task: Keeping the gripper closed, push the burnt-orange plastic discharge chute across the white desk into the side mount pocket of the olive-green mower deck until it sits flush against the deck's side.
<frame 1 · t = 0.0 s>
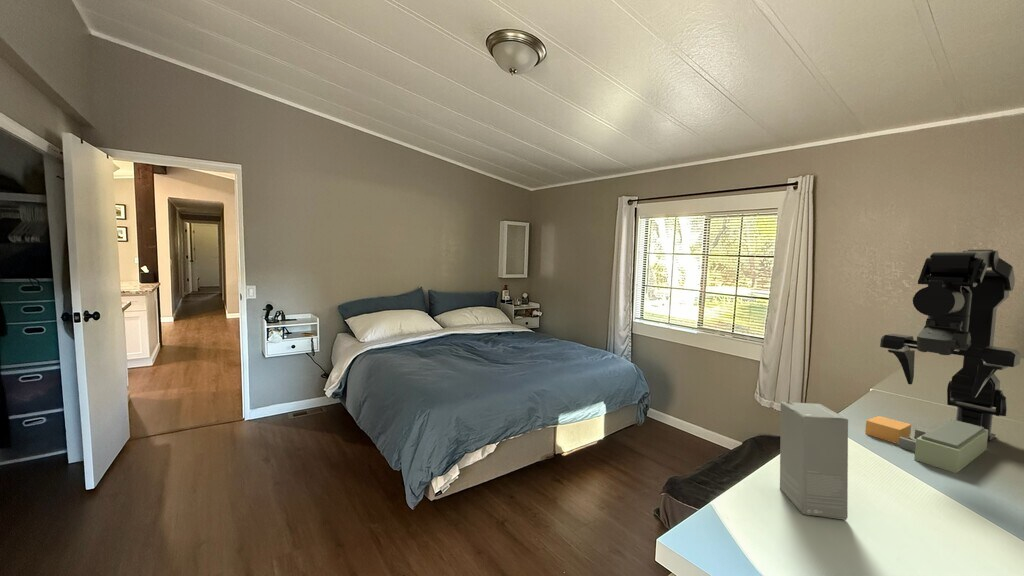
hand: (940, 390, 83), 15 cm above the table, fingers open, 9 cm apart
skincare box: (807, 504, 67), on the table
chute: (887, 436, 96), on the table
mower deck: (951, 454, 87), on the table
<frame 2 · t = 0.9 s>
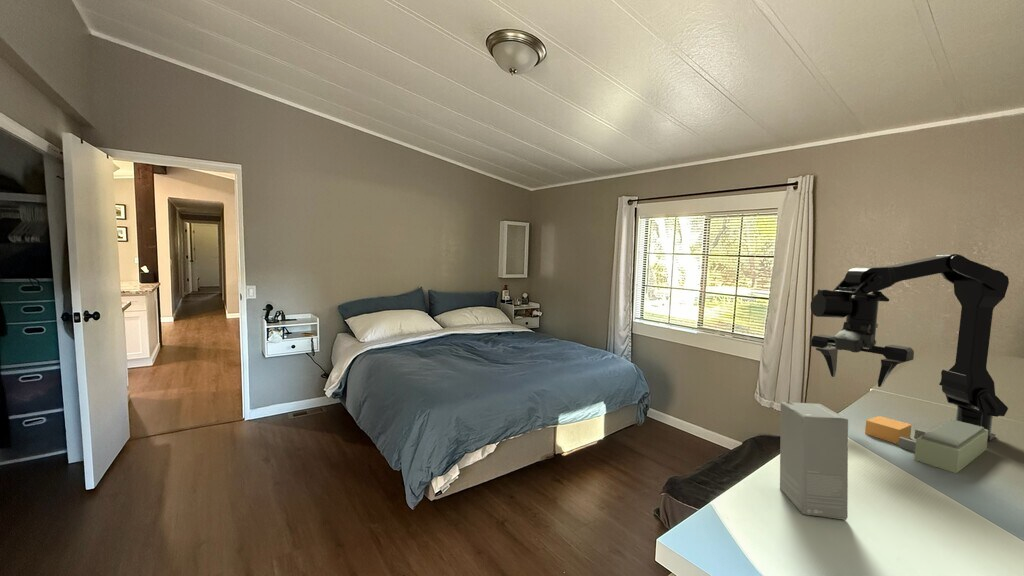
hand: (855, 381, 100), 11 cm above the table, fingers open, 9 cm apart
nothing on the table moved.
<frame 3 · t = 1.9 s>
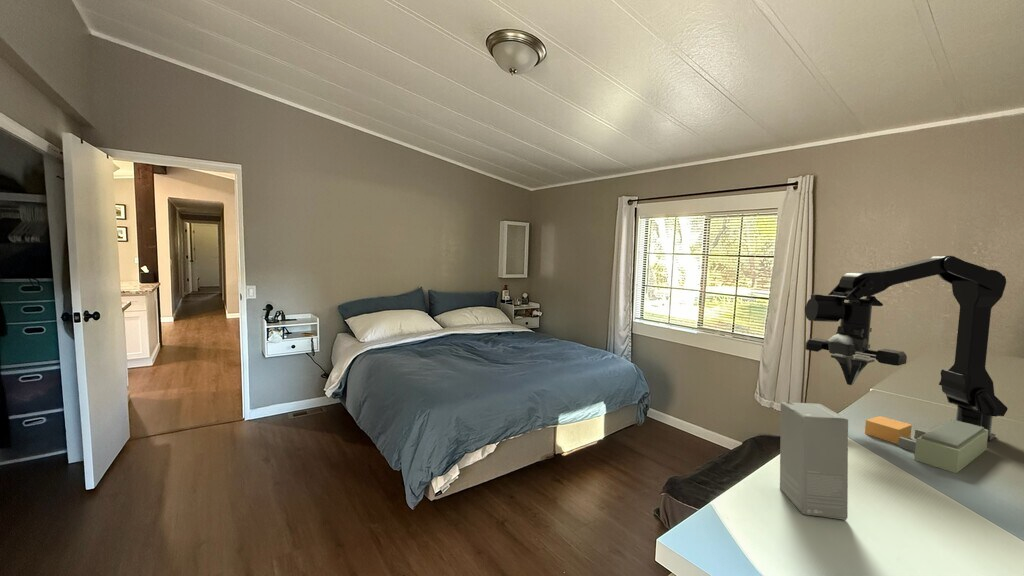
hand: (849, 384, 102), 10 cm above the table, fingers closed
nothing on the table moved.
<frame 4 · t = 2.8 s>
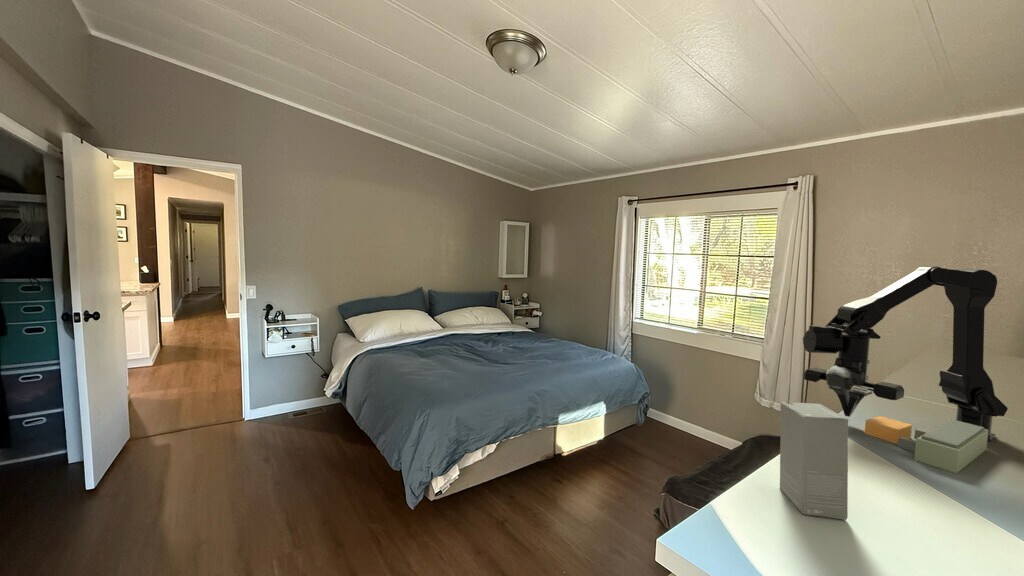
hand: (847, 416, 102), 2 cm above the table, fingers closed
nothing on the table moved.
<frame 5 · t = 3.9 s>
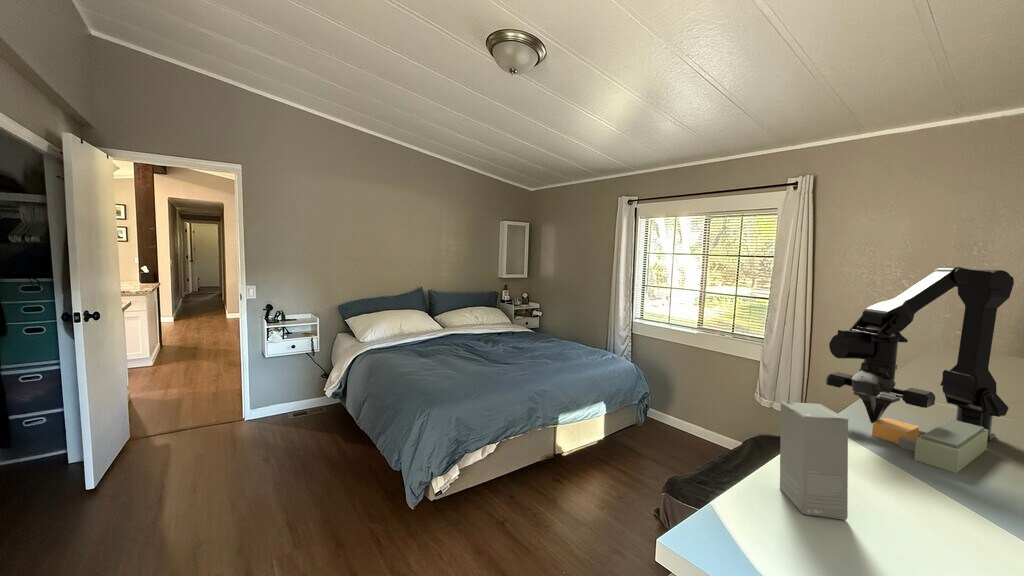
hand: (873, 423, 98), 2 cm above the table, fingers closed
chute: (894, 439, 95), on the table, touching gripper
everything else where it was.
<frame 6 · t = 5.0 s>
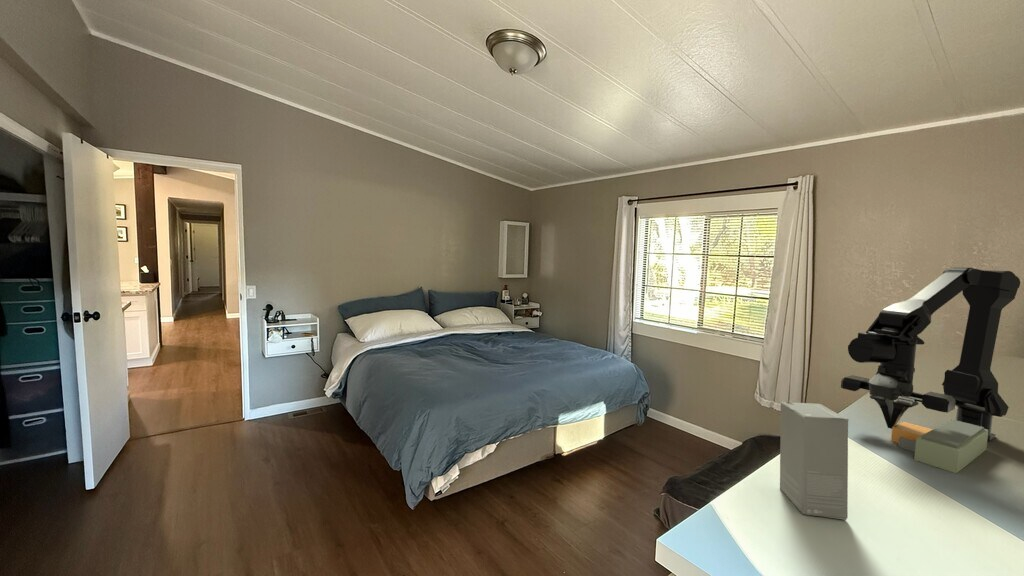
hand: (890, 428, 95), 2 cm above the table, fingers closed
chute: (913, 444, 92), on the table
everything else where it was.
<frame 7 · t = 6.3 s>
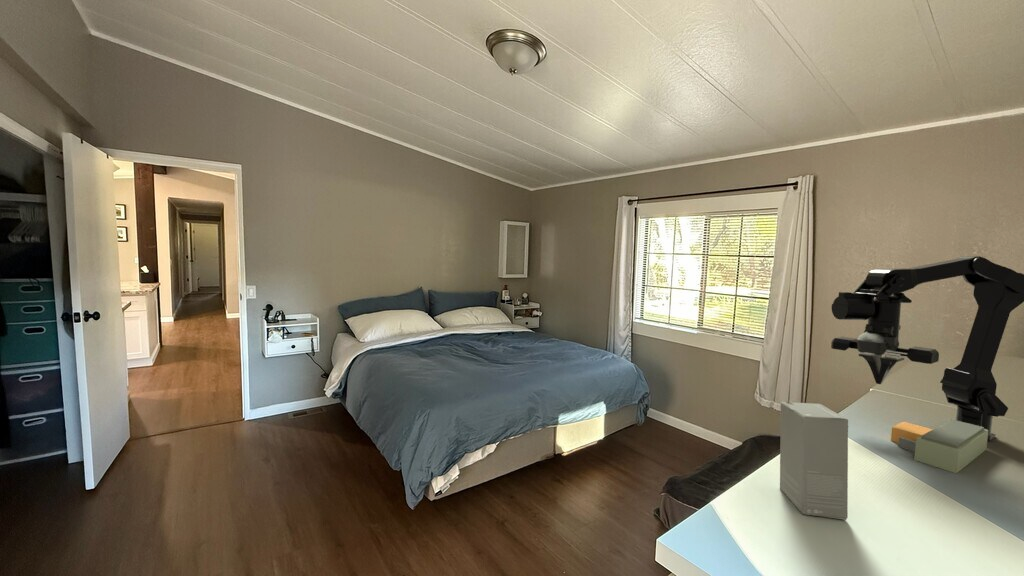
hand: (879, 383, 100), 11 cm above the table, fingers closed
nothing on the table moved.
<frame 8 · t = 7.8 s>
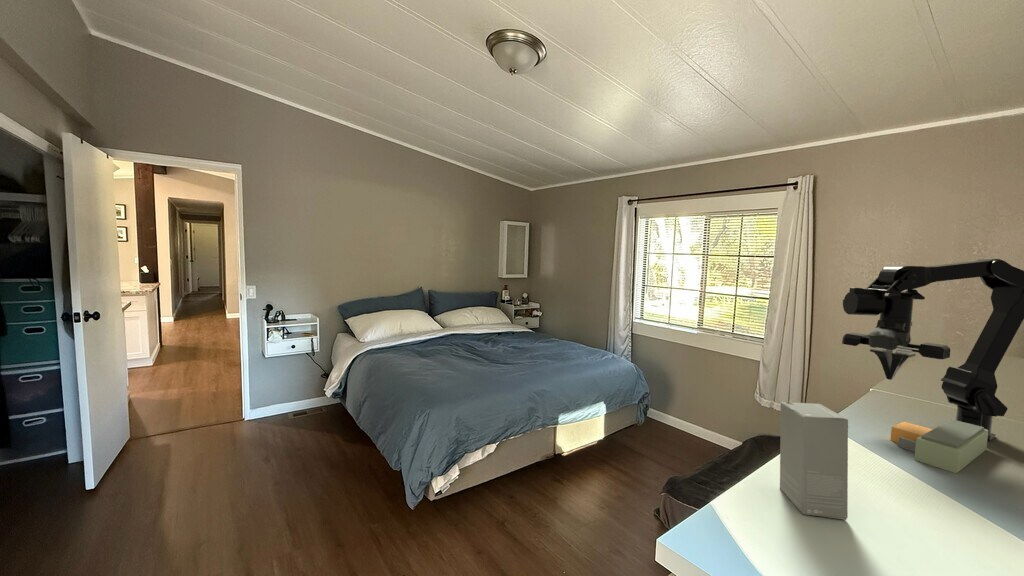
hand: (889, 379, 101), 12 cm above the table, fingers closed
nothing on the table moved.
at the end: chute 0.8 cm from the target spot, on the table; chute tilted 0° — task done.
